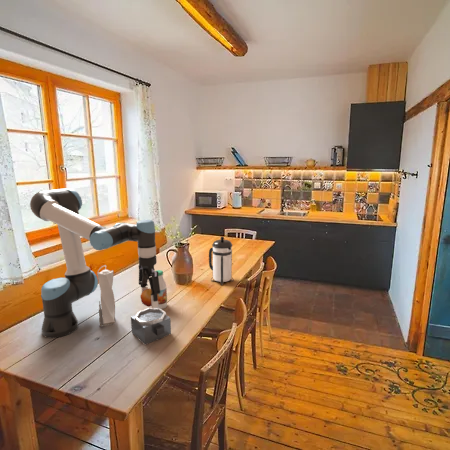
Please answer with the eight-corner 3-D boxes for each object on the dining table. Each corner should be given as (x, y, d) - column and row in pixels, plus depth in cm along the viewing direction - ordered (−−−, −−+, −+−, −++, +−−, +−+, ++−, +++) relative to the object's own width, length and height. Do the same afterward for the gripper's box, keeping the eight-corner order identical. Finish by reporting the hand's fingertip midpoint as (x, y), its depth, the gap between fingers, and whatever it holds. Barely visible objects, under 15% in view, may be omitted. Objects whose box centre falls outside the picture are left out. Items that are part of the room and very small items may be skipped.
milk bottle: (153, 310, 165) (151, 274, 161) (152, 303, 173) (150, 269, 168) (167, 308, 167) (166, 273, 163) (166, 302, 175) (165, 268, 170)
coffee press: (234, 276, 213) (234, 233, 206) (232, 286, 197) (233, 239, 191) (209, 275, 214) (208, 233, 208) (205, 284, 199) (205, 239, 192)
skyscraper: (99, 318, 157) (95, 265, 151) (116, 315, 160) (112, 263, 154) (99, 326, 150) (94, 271, 144) (117, 323, 152) (113, 269, 147)
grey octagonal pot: (147, 347, 133) (146, 327, 131) (131, 332, 144) (130, 314, 143) (173, 336, 142) (173, 317, 140) (156, 322, 153) (156, 305, 151)
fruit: (149, 295, 147) (153, 283, 143) (158, 307, 144) (163, 295, 140) (134, 300, 141) (139, 289, 137) (144, 313, 138) (149, 302, 134)
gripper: (167, 259, 131) (169, 309, 136) (144, 248, 146) (146, 294, 151) (151, 263, 126) (153, 315, 131) (128, 251, 141) (131, 298, 146)
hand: (150, 303), depth 141 cm, fingers closed on fruit, 8 cm apart
